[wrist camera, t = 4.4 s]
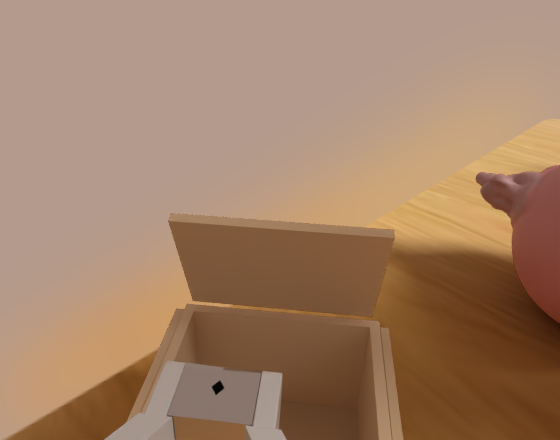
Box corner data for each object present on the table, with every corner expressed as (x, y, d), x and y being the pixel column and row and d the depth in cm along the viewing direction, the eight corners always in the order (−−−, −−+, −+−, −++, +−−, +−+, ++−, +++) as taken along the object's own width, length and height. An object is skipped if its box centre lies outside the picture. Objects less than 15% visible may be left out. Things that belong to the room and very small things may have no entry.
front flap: (394, 237, 22) (393, 228, 23) (168, 221, 23) (171, 212, 24) (372, 316, 28) (371, 308, 29) (193, 301, 29) (195, 292, 30)
